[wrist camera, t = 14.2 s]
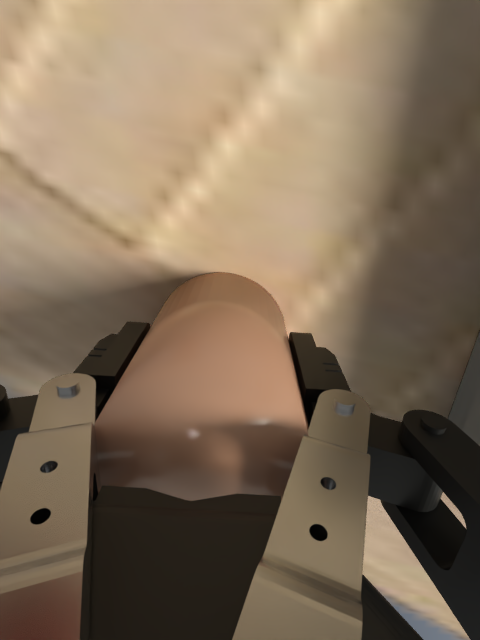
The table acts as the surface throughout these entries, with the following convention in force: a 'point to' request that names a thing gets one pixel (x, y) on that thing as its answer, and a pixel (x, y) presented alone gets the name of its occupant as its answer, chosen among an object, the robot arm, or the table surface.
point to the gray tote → (469, 398)
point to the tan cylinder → (207, 398)
